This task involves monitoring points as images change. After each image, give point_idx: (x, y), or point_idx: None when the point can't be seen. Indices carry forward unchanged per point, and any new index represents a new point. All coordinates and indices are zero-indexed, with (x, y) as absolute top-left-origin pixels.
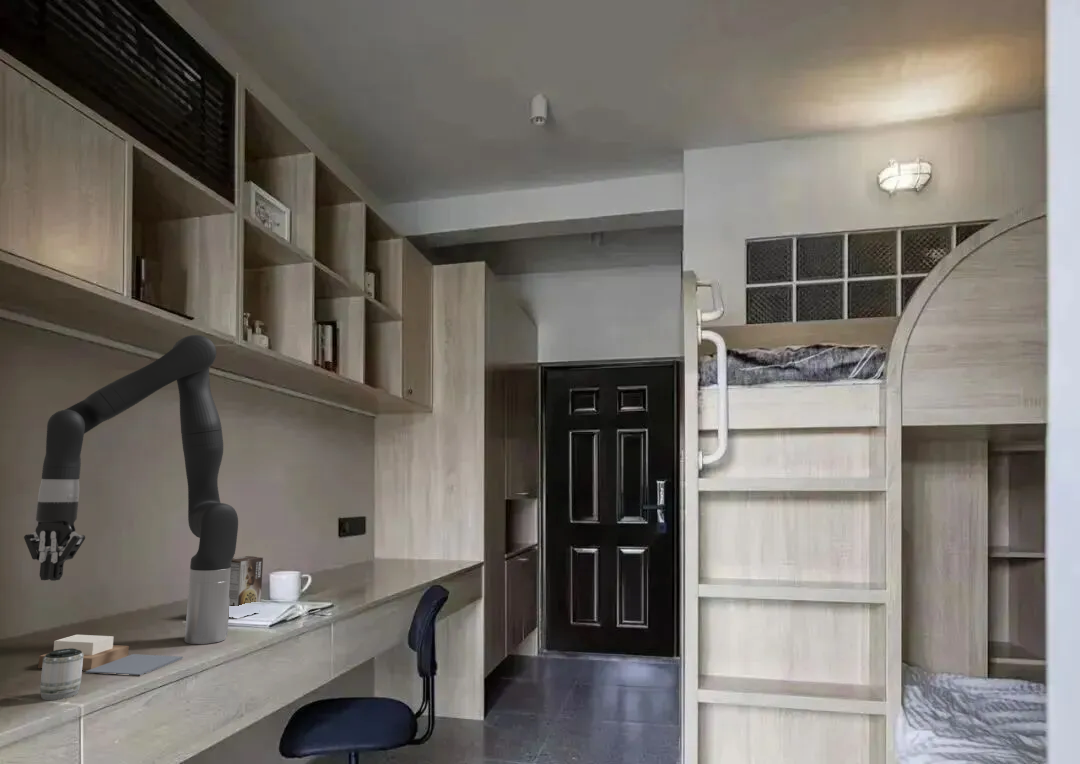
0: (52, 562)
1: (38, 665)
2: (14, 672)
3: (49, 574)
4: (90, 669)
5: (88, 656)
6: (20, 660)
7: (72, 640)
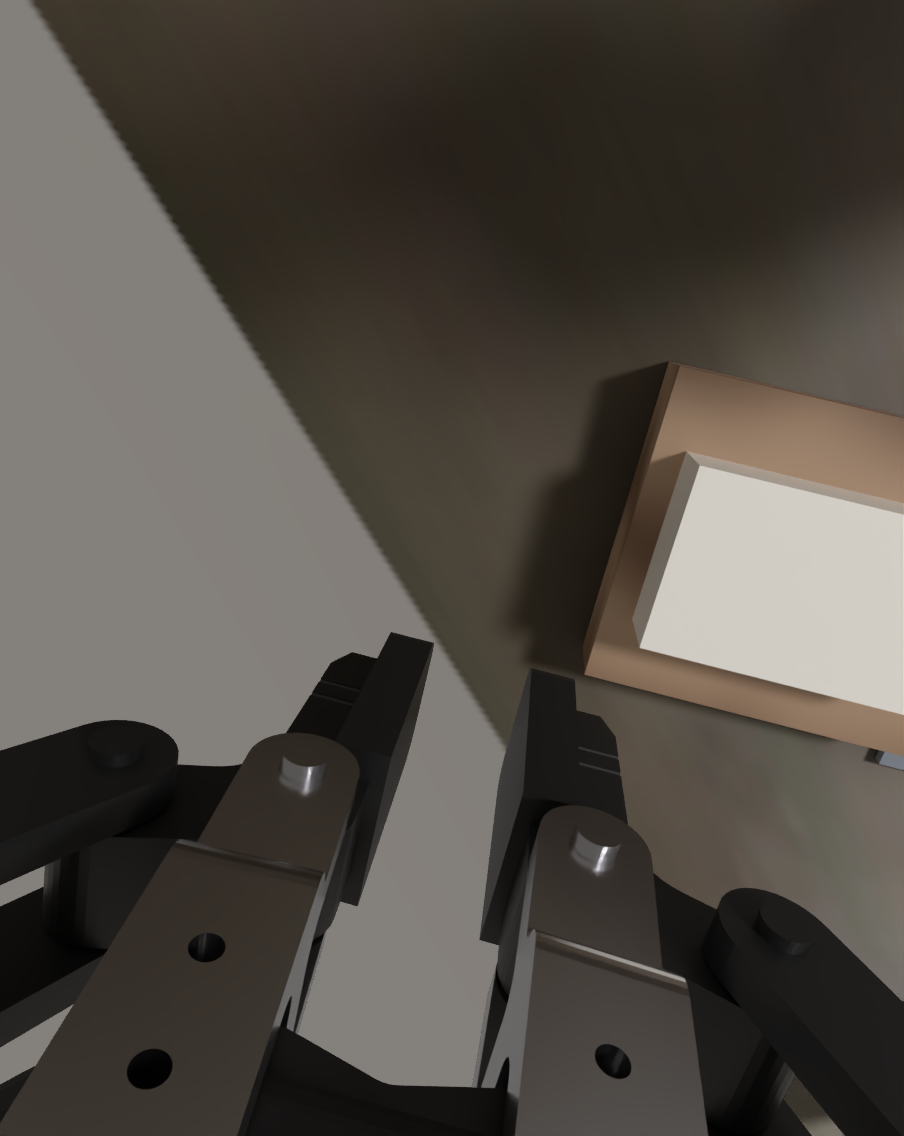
0: (390, 764)
1: (583, 652)
2: (504, 705)
3: (417, 698)
4: None
5: (880, 714)
6: (390, 470)
7: (755, 648)
